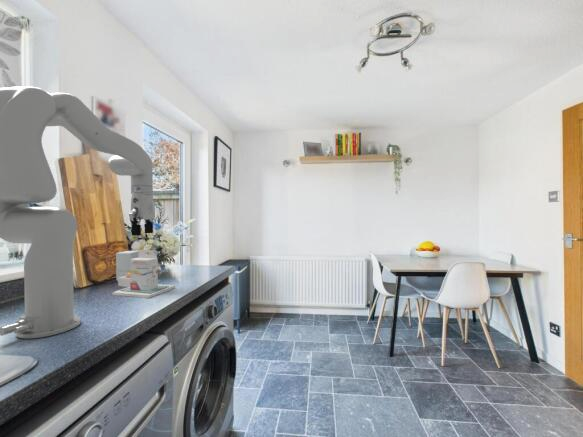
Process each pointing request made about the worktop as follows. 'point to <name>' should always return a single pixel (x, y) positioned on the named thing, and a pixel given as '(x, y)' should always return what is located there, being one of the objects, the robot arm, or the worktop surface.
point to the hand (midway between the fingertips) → (142, 234)
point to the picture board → (144, 291)
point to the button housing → (124, 281)
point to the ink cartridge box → (144, 271)
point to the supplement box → (124, 262)
